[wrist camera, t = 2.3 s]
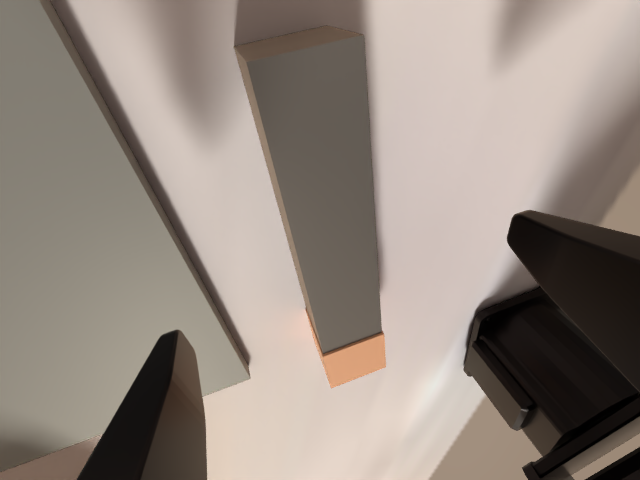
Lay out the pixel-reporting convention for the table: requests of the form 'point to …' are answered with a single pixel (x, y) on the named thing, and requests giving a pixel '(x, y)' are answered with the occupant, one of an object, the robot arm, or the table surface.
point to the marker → (323, 184)
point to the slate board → (81, 253)
